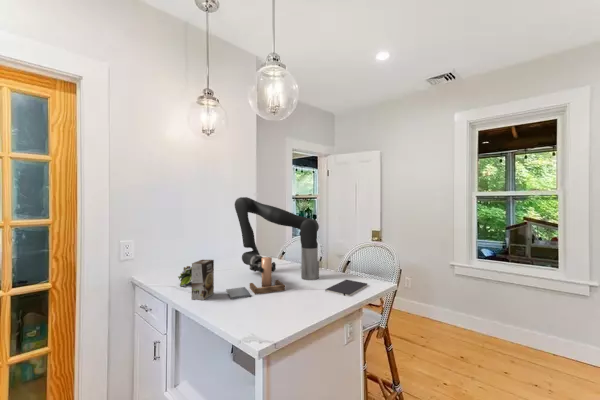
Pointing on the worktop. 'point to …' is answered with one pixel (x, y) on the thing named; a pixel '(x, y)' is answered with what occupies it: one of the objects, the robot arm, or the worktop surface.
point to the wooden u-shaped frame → (268, 288)
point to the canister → (267, 271)
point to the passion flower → (186, 275)
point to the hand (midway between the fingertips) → (267, 270)
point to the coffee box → (202, 279)
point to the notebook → (346, 287)
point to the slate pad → (238, 293)
